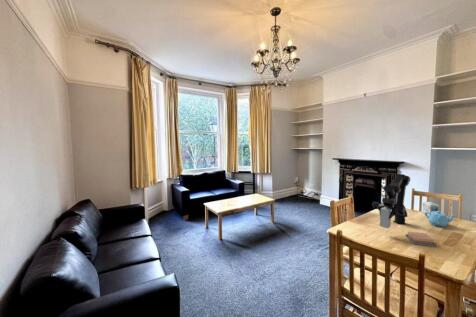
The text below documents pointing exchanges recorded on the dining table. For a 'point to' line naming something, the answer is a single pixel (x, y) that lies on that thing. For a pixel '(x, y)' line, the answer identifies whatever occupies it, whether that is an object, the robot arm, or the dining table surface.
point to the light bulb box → (430, 207)
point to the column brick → (385, 217)
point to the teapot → (438, 218)
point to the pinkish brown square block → (420, 239)
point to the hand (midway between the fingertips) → (384, 217)
